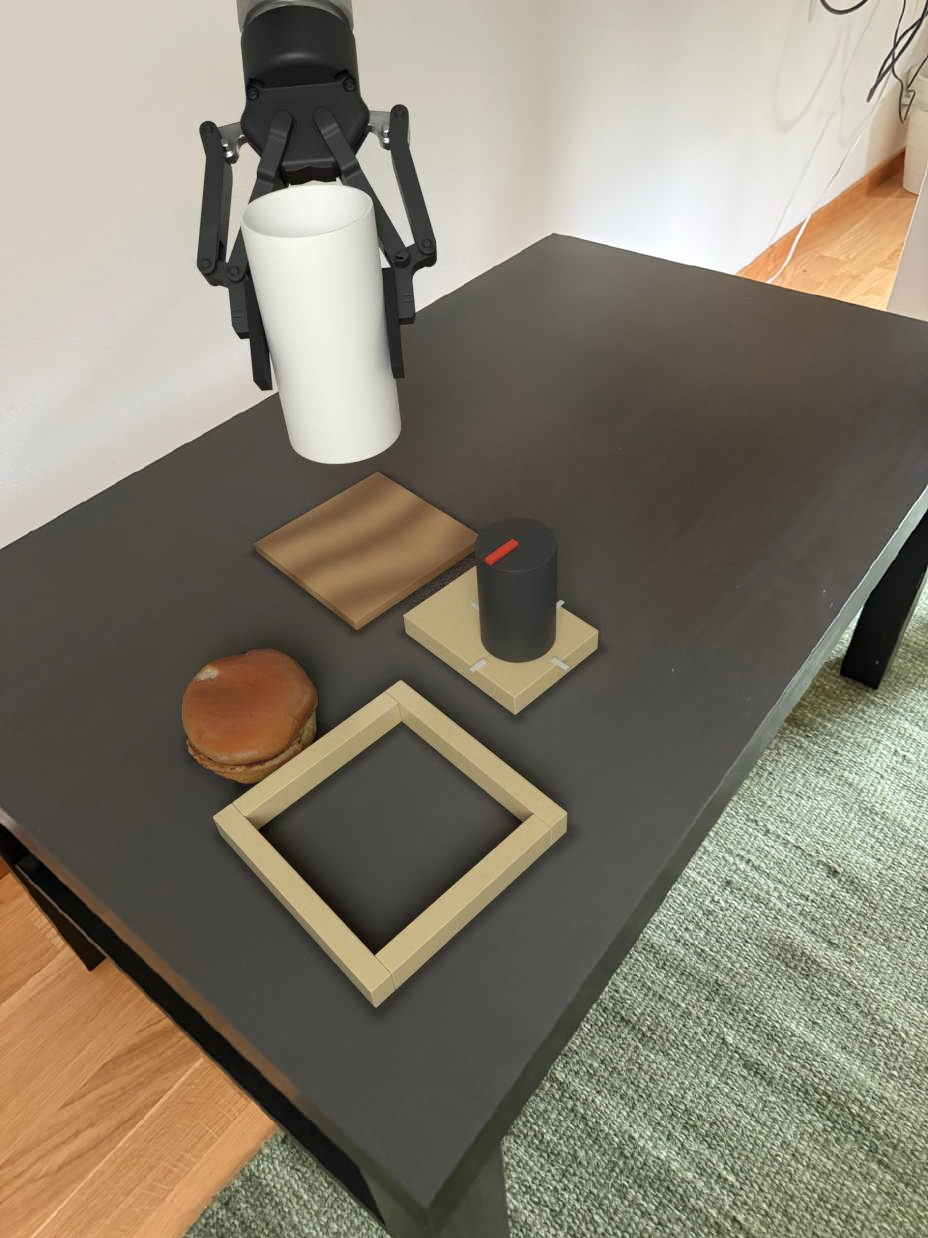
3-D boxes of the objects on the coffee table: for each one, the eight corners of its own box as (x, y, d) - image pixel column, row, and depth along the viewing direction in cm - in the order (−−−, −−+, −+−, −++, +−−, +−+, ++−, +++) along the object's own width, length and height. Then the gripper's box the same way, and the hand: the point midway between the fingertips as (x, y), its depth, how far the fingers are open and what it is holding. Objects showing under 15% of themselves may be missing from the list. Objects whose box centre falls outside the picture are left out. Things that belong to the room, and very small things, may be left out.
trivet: (256, 551, 81) (253, 543, 80) (379, 479, 87) (377, 470, 87) (356, 631, 73) (355, 622, 73) (483, 545, 80) (482, 536, 79)
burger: (295, 795, 63) (281, 753, 59) (169, 776, 64) (149, 734, 61) (339, 685, 69) (329, 643, 66) (224, 671, 71) (208, 629, 68)
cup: (266, 442, 68) (210, 221, 56) (339, 389, 72) (301, 174, 61) (352, 477, 64) (311, 248, 53) (423, 419, 68) (400, 196, 57)
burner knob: (516, 598, 72) (513, 503, 65) (571, 633, 69) (574, 537, 62) (465, 637, 69) (457, 542, 63) (520, 675, 66) (518, 579, 60)
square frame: (220, 835, 61) (211, 816, 59) (403, 698, 68) (400, 679, 67) (375, 1009, 52) (370, 992, 51) (567, 831, 59) (567, 812, 58)
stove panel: (401, 635, 73) (398, 616, 71) (490, 573, 77) (489, 554, 76) (520, 726, 66) (519, 706, 64) (610, 651, 70) (611, 632, 69)
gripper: (456, 56, 65) (487, 379, 65) (156, 82, 65) (187, 406, 65) (456, -17, 57) (491, 348, 58) (117, 12, 57) (153, 379, 57)
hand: (330, 378), depth 61 cm, fingers closed on cup, 8 cm apart
